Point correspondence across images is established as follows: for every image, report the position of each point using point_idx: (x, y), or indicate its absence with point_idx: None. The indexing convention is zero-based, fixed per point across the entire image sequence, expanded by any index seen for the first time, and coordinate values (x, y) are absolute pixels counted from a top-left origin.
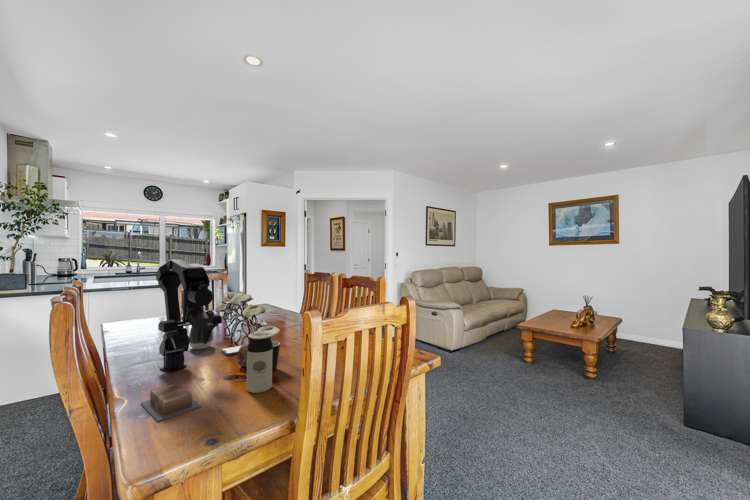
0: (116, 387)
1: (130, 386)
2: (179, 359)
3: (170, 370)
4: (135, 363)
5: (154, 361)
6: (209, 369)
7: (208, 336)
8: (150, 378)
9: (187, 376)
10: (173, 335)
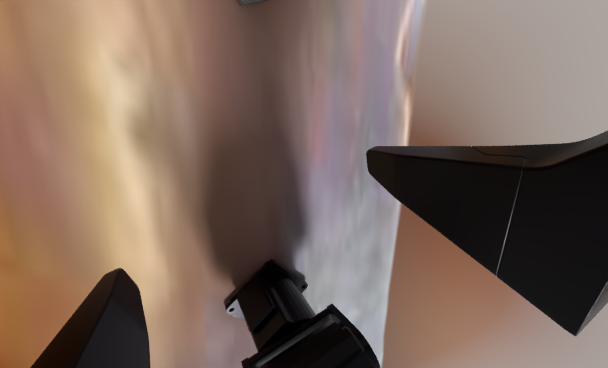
0: None
1: None
2: (265, 305)
3: (279, 265)
4: None
5: None
6: (117, 262)
7: (44, 365)
8: (330, 221)
9: (219, 201)
10: (593, 138)
